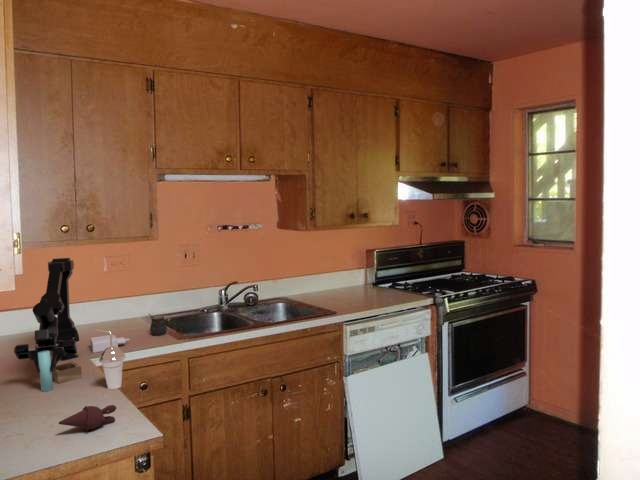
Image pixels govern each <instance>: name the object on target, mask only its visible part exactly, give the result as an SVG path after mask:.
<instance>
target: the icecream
mask: <svg viewBox="0 0 640 480" xmlns="http://www.w3.org/2000/svg"><path fill="white" fill-rule="evenodd" d="M116 410H117V406H116V405H115V404H111V405H107V406H105V407H103V408H100V407H98V406H95V405H84V407H83V408H82V410H81V411H80V410H79V412H76V413H75V414H72V415H71V416H68V417H67V418H63V419H62V420H59V421H58V425H62V426H70V427H75V428H76V427H77V428H83V429H84V430H85V431H86V432H89V430H93V429H96V428H98V427H100V426H101V424H113V423H114V422H115V421H116V417H114V416H111V415H109V414H112V413H114V412H116ZM105 415H106V416H105ZM107 415H109V416H107Z"/></svg>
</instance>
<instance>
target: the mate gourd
mask: <svg viewBox="0 0 640 480" xmlns="http://www.w3.org/2000/svg"><path fill="white" fill-rule="evenodd" d="M147 315H149V316H150V317H151V318H150V319H151V323H150V328H149V329H150V332H151V334H152V335H153V336H155V337H160V336H164V335H165V334H166V332H167V330H168V329H167V323H166V322H165V321H166V320H165V316H164V315H156V316H153V315H152V314H150V313H149V312H148V314H147Z"/></svg>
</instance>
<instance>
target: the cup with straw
mask: <svg viewBox="0 0 640 480" xmlns="http://www.w3.org/2000/svg"><path fill="white" fill-rule="evenodd" d="M95 332H102V333H107V334H108V335H110V344H111V347H108V348H106V349H105V350H104V351H103V352H101V355H100V356H99V358H98V361H99V363H101V366H102V370H103V373H104V379H105V384H106V386H107V389H108V390H109V389H110V390H116V389H119V388H121V387H122V382H123V381H122V380H123V365H124V360H125V358H126V354H125V353H124V352H123V351H122V349H121V348H119V346H118V347H115V346H113V341H112V335H113V333H112V331H111V330H106V329H101V328H96V329H95Z"/></svg>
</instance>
